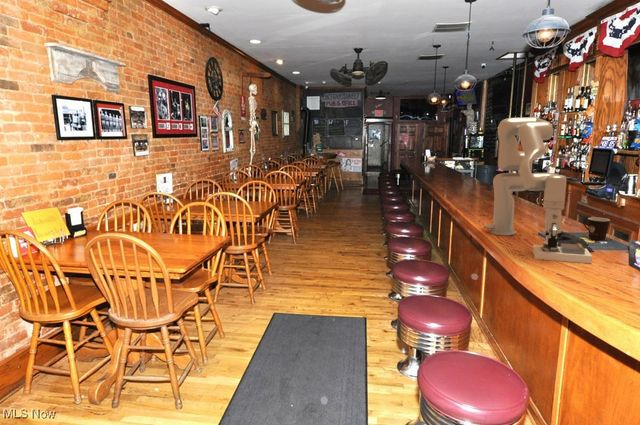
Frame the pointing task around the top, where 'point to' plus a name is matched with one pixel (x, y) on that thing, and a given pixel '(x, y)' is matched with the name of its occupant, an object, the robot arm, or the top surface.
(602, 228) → the coffee mug
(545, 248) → the pill bottle
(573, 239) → the black slab with knob
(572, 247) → the grey slab
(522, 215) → the top surface
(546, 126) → the robot arm
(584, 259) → the socket block
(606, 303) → the top surface
